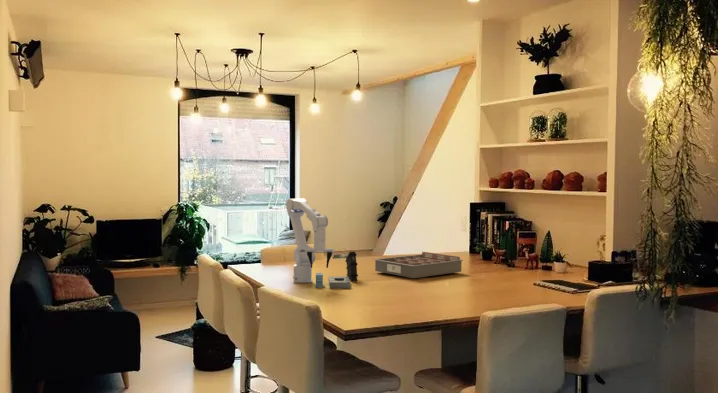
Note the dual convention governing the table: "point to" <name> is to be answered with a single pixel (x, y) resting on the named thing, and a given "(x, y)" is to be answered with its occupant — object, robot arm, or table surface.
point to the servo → (319, 279)
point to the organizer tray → (419, 265)
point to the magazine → (351, 266)
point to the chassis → (339, 282)
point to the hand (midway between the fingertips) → (319, 267)
